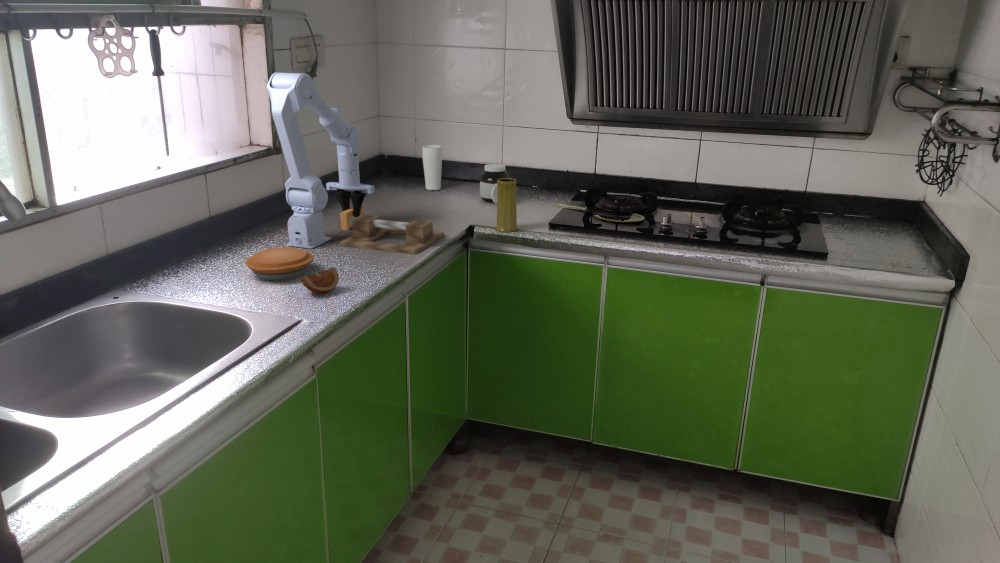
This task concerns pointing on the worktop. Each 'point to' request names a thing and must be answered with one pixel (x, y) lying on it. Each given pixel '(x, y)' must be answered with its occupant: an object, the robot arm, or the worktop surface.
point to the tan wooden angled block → (348, 218)
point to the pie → (280, 263)
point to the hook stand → (373, 228)
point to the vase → (506, 205)
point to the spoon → (633, 218)
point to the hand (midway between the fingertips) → (352, 216)
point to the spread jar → (491, 181)
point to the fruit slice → (321, 281)
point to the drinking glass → (432, 166)
